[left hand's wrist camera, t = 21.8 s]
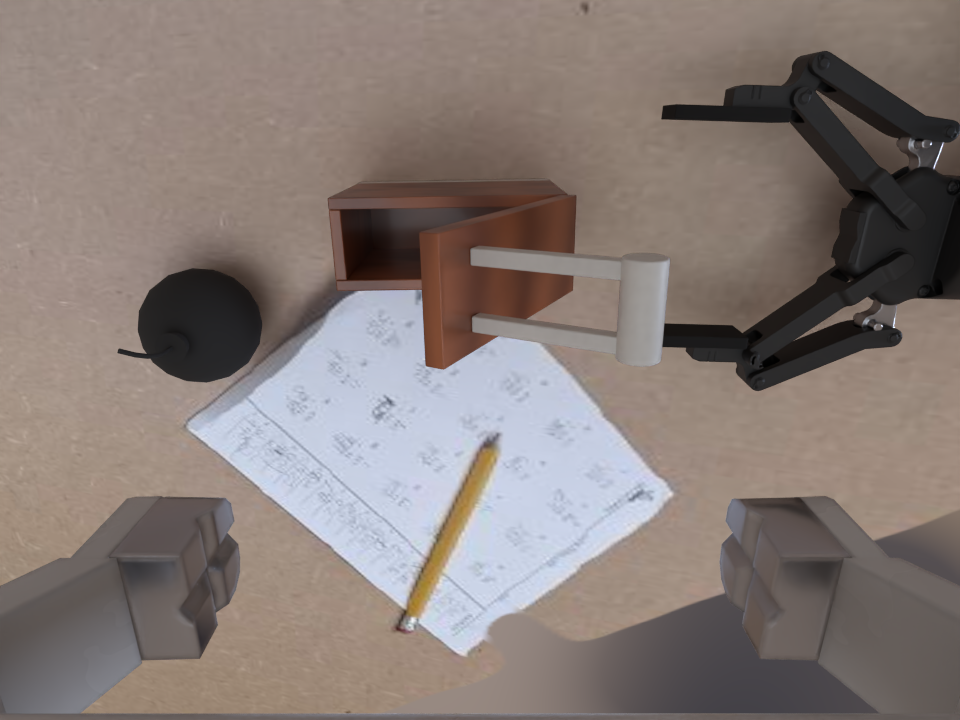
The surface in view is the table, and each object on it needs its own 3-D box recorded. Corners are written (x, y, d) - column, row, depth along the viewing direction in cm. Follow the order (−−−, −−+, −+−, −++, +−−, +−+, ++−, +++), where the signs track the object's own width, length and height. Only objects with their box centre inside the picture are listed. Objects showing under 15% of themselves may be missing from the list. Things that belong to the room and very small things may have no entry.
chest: (366, 256, 46) (336, 291, 37) (360, 181, 45) (327, 197, 35) (547, 253, 46) (564, 287, 37) (548, 178, 44) (568, 193, 35)
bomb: (294, 296, 47) (236, 349, 36) (246, 377, 50) (178, 451, 38) (199, 237, 46) (108, 273, 34) (154, 323, 48) (54, 384, 37)
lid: (425, 366, 25) (639, 408, 21) (418, 231, 23) (651, 249, 19) (558, 289, 36) (714, 306, 32) (561, 194, 34) (726, 200, 30)
